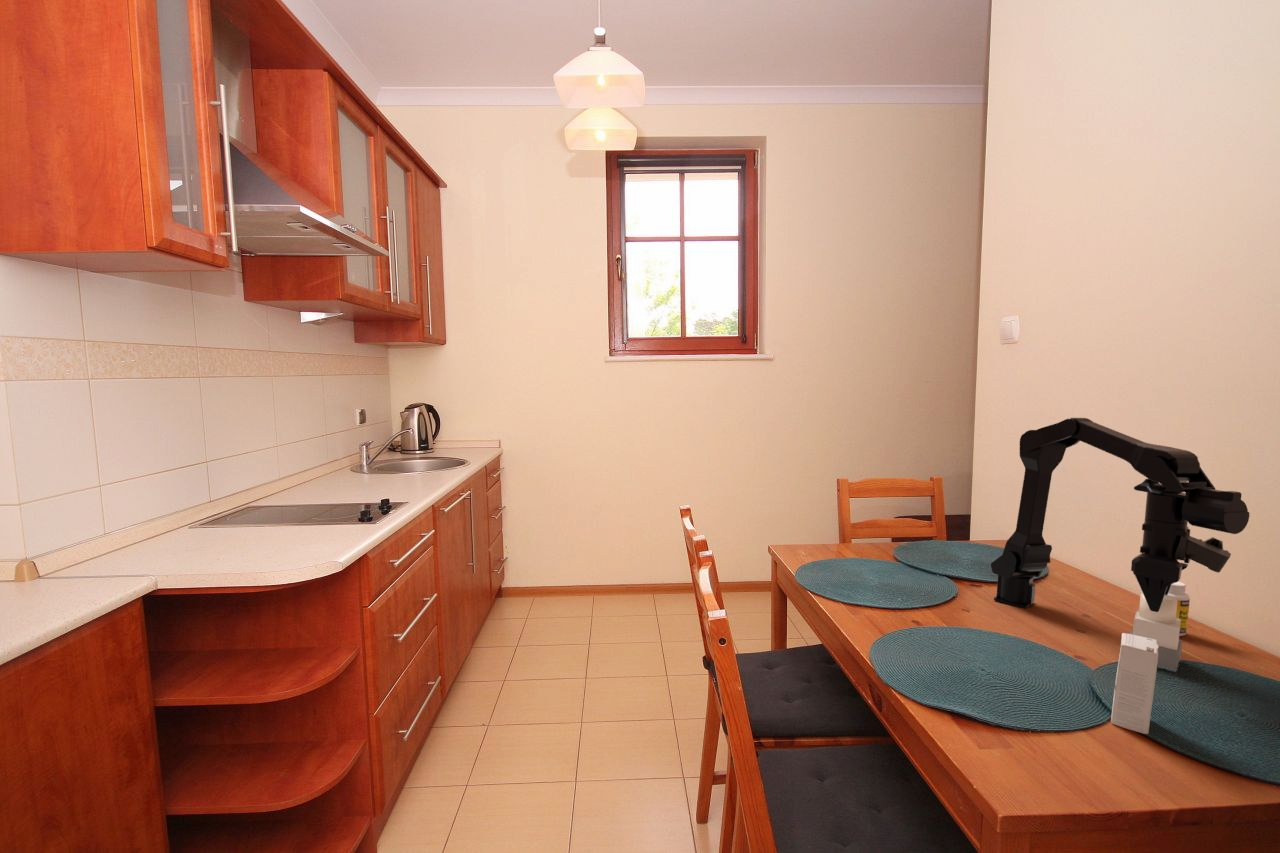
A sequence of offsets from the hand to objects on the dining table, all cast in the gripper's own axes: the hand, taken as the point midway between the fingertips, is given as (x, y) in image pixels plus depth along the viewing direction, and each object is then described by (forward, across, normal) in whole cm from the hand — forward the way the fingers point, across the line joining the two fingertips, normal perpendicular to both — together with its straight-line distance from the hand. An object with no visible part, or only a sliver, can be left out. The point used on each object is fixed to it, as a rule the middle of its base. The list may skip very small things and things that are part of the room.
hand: (1157, 605), depth 107 cm
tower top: (+6, 0, 0) cm, 6 cm away
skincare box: (+10, -30, -1) cm, 32 cm away
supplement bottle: (+10, +20, 0) cm, 22 cm away
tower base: (+10, 0, 0) cm, 10 cm away
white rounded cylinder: (+2, 0, 0) cm, 2 cm away
